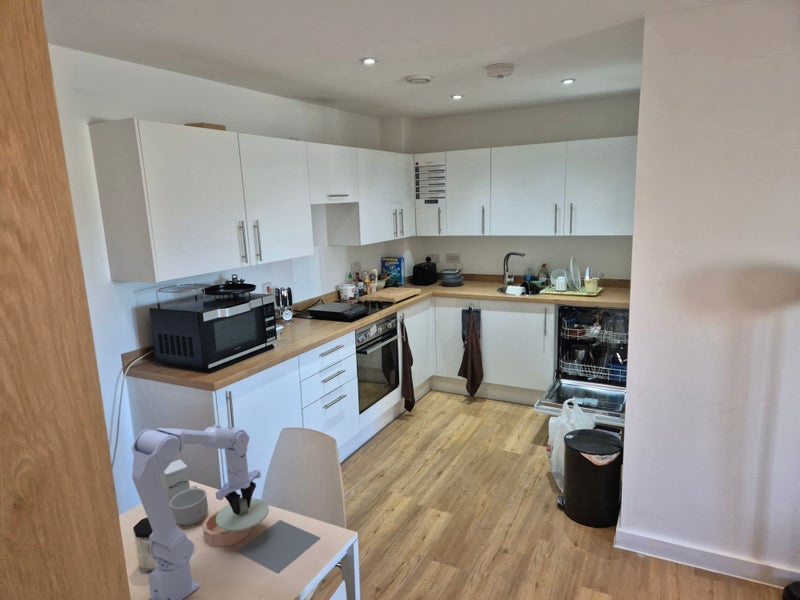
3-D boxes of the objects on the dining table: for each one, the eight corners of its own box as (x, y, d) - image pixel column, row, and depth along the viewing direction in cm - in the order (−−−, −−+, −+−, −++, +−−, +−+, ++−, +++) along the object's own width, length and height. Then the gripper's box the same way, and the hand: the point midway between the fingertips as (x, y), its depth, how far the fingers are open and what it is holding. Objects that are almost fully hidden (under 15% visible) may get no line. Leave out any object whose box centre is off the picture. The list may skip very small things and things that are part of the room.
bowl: (223, 553, 147) (221, 539, 146) (195, 538, 154) (193, 525, 153) (258, 528, 157) (257, 515, 157) (230, 516, 164) (229, 503, 164)
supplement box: (169, 509, 169) (164, 474, 167) (162, 500, 175) (157, 466, 172) (192, 500, 174) (187, 466, 172) (184, 491, 180) (180, 458, 177)
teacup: (201, 530, 158) (198, 506, 156) (166, 530, 158) (163, 507, 157) (217, 503, 172) (215, 481, 170) (185, 504, 172) (182, 482, 170)
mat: (278, 575, 138) (277, 573, 137) (236, 553, 147) (236, 551, 147) (320, 539, 151) (320, 537, 151) (280, 521, 161) (280, 519, 161)
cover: (239, 537, 142) (237, 521, 141) (205, 521, 150) (203, 506, 149) (279, 508, 154) (277, 494, 153) (245, 496, 162) (243, 482, 161)
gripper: (225, 483, 141) (230, 527, 143) (265, 460, 153) (269, 501, 155) (209, 476, 145) (214, 519, 147) (250, 454, 156) (254, 494, 159)
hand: (241, 509), depth 152 cm, fingers closed on cover, 3 cm apart
